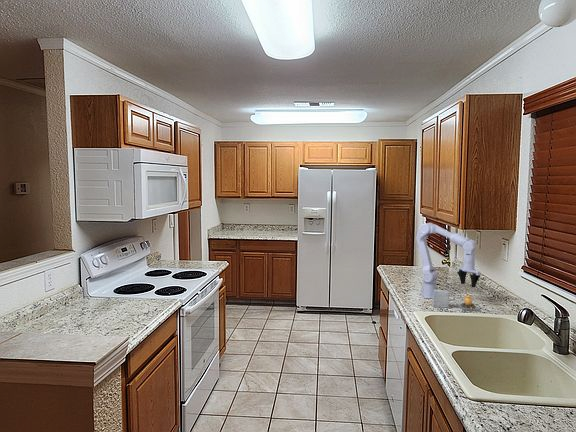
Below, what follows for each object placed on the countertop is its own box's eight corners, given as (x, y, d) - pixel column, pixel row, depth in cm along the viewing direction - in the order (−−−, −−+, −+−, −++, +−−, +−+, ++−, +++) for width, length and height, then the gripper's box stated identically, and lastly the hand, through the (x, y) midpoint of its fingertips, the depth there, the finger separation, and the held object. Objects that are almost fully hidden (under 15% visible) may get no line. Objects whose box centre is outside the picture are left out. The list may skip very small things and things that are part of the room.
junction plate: (455, 305, 216) (456, 301, 216) (472, 305, 216) (472, 302, 216) (463, 310, 206) (463, 307, 206) (480, 311, 205) (480, 307, 205)
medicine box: (447, 305, 215) (448, 290, 214) (448, 308, 210) (449, 292, 210) (432, 304, 217) (432, 289, 216) (433, 307, 212) (433, 291, 212)
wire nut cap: (463, 305, 213) (464, 294, 212) (470, 305, 212) (470, 294, 212) (465, 307, 209) (466, 296, 209) (472, 307, 209) (472, 296, 208)
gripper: (453, 259, 222) (452, 283, 223) (473, 264, 209) (472, 289, 210) (463, 258, 225) (462, 282, 226) (483, 263, 211) (482, 288, 212)
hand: (468, 285), depth 218 cm, fingers open, 7 cm apart
